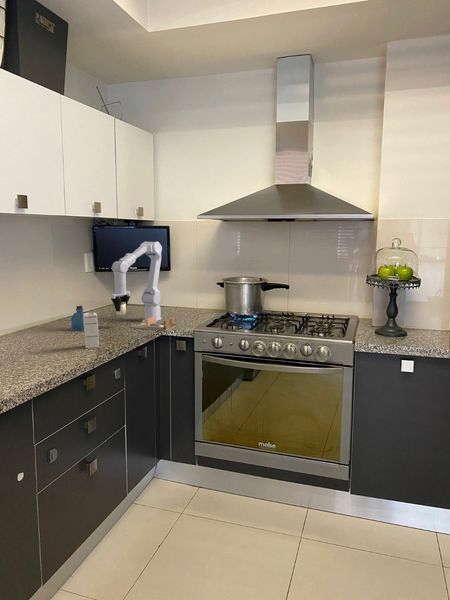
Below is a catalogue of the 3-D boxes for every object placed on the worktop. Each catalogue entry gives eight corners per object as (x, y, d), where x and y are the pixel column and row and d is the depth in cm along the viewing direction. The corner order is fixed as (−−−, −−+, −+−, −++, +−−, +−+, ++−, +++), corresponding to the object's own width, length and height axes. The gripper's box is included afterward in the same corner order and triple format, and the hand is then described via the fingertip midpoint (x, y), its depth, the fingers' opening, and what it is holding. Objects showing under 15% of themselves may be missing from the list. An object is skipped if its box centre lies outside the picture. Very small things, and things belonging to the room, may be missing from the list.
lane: (143, 323, 248) (143, 314, 247) (176, 326, 241) (176, 317, 240) (131, 327, 237) (131, 318, 236) (165, 330, 230) (165, 321, 229)
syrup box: (99, 347, 196) (98, 314, 194) (85, 348, 194) (83, 315, 192) (98, 344, 202) (96, 312, 199) (84, 345, 199) (82, 312, 197)
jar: (119, 312, 240) (119, 301, 239) (128, 313, 238) (127, 301, 238) (114, 314, 235) (113, 302, 235) (122, 314, 234) (122, 303, 233)
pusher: (154, 323, 244) (154, 316, 243) (163, 324, 242) (163, 316, 241) (146, 327, 235) (145, 319, 234) (154, 327, 233) (154, 319, 233)
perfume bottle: (82, 330, 229) (81, 307, 227) (71, 330, 230) (70, 306, 228) (88, 328, 235) (88, 305, 233) (78, 327, 236) (77, 305, 234)
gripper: (121, 282, 243) (122, 307, 245) (105, 285, 229) (106, 312, 231) (133, 283, 240) (133, 308, 242) (117, 286, 227) (118, 313, 229)
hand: (121, 310), depth 237 cm, fingers closed on jar, 5 cm apart
